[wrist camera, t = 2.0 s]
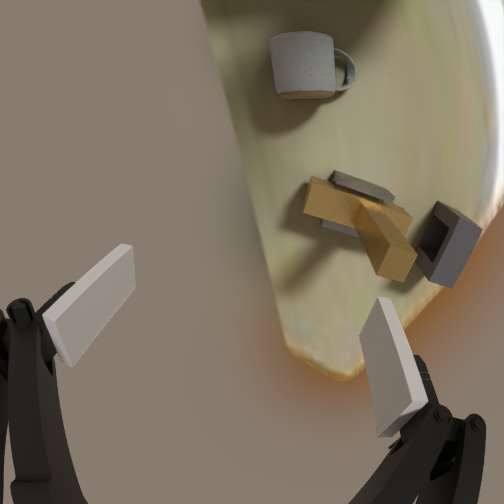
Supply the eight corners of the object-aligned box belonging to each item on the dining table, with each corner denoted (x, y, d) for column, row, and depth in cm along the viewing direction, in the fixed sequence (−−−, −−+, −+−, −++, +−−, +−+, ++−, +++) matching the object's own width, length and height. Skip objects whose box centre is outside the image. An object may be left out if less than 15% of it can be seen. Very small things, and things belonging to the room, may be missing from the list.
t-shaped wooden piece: (311, 175, 35) (321, 216, 21) (402, 208, 35) (454, 263, 21) (302, 203, 37) (305, 259, 23) (392, 232, 37) (435, 297, 23)
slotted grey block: (437, 200, 35) (460, 217, 28) (459, 211, 34) (482, 229, 28) (412, 256, 39) (428, 281, 33) (434, 264, 39) (451, 288, 33)
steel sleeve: (334, 170, 36) (338, 175, 32) (385, 188, 36) (394, 196, 32) (319, 216, 39) (321, 226, 36) (368, 232, 39) (375, 243, 35)
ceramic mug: (277, 102, 33) (274, 97, 26) (270, 46, 29) (265, 30, 22) (356, 100, 31) (372, 96, 24) (349, 45, 27) (363, 29, 21)
